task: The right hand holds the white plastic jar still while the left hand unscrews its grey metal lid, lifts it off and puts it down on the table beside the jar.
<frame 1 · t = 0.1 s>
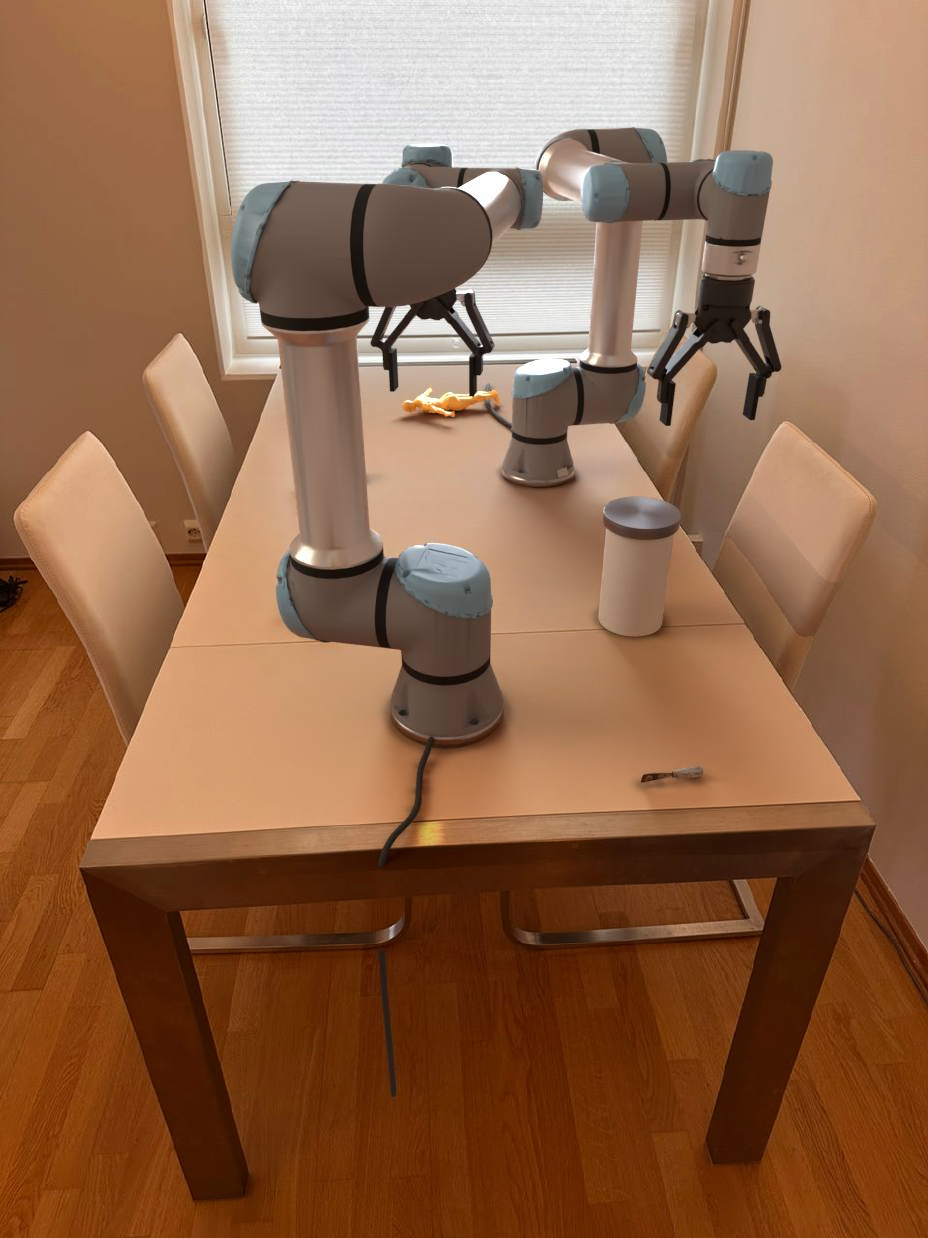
left hand: (433, 391, 149), 28 cm above the table, tool pointing down, fingers open, 13 cm apart
right hand: (707, 420, 137), 28 cm above the table, tool pointing down, fingers open, 13 cm apart
human figure: (450, 410, 226), on the table
putty knife: (671, 781, 109), on the table
lid: (641, 514, 131), point 18 cm above the table, screwed on, not yet turned
handgun: (339, 493, 183), on the table
jar: (630, 619, 141), on the table
stone: (329, 596, 147), on the table
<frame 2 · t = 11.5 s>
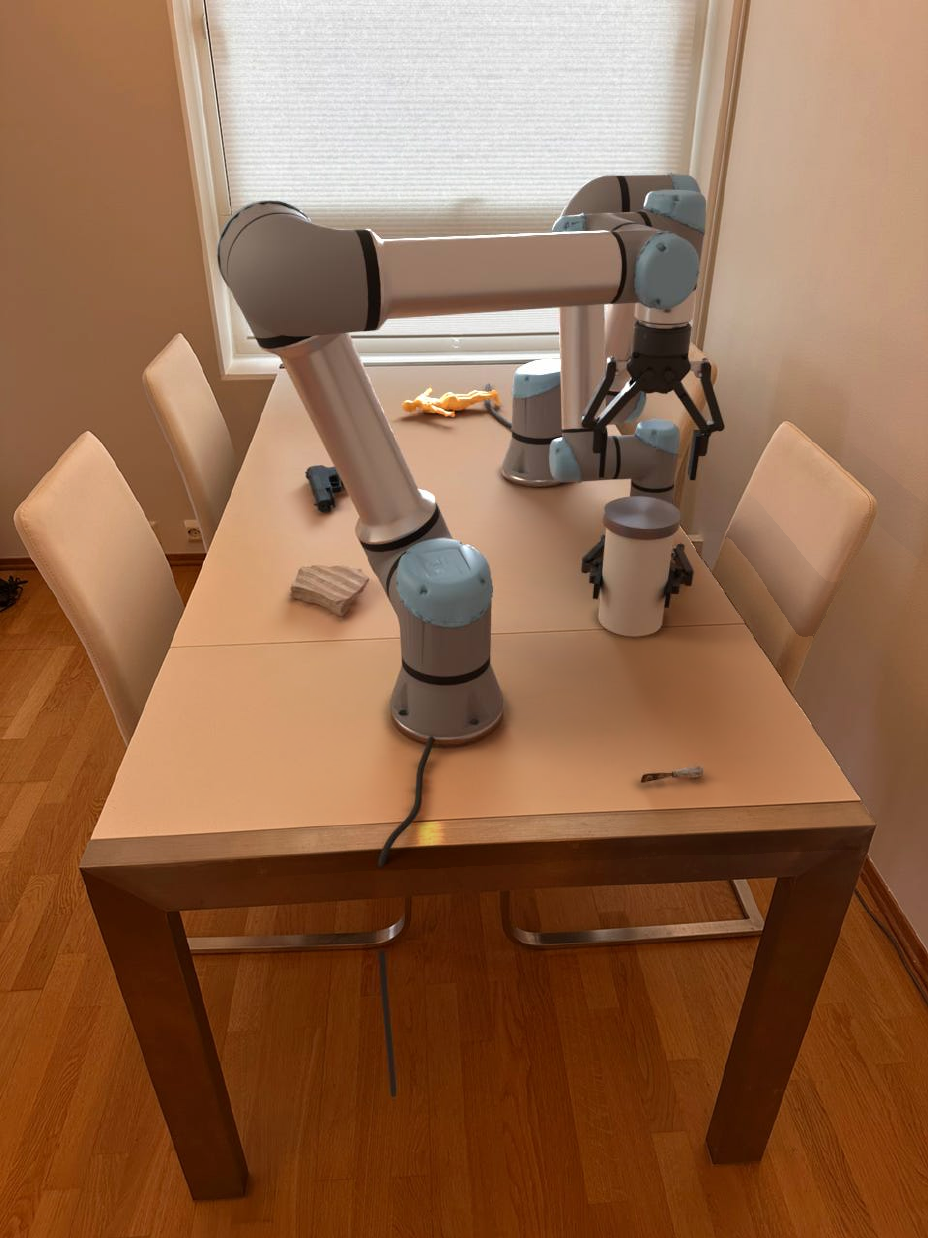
left hand: (646, 475, 128), 24 cm above the table, tool pointing down, fingers open, 12 cm apart
right hand: (631, 595, 134), 7 cm above the table, tool horizontal, fingers closed on jar, 10 cm apart
jar: (630, 619, 141), on the table, touching right hand
everything else where it was.
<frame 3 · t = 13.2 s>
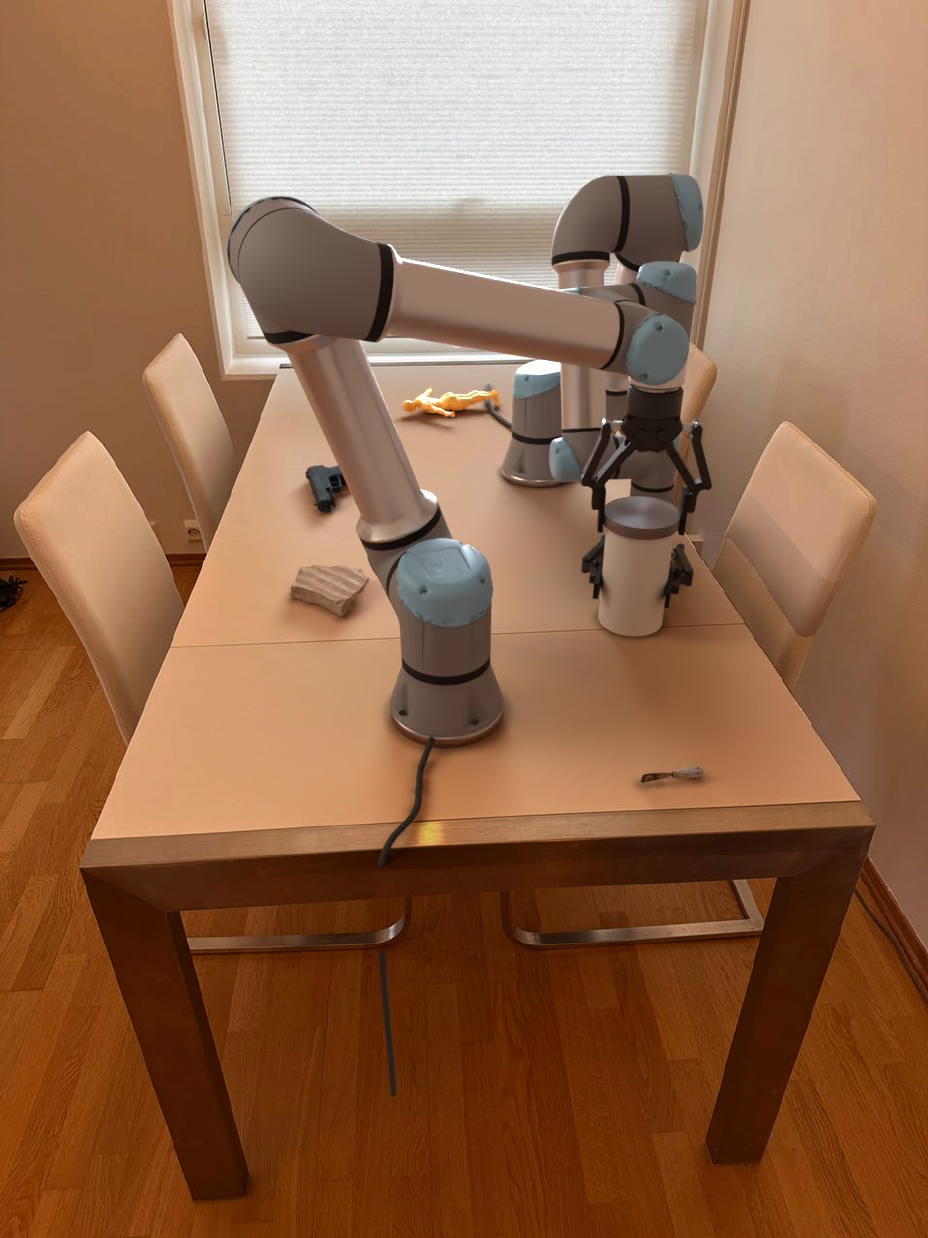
left hand: (639, 530, 133), 16 cm above the table, tool pointing down, fingers closed on lid, 11 cm apart
right hand: (631, 595, 134), 7 cm above the table, tool horizontal, fingers closed on jar, 10 cm apart
lid: (641, 514, 131), point 18 cm above the table, screwed on, not yet turned, touching left hand
jar: (630, 619, 141), on the table, touching right hand
everything else where it was.
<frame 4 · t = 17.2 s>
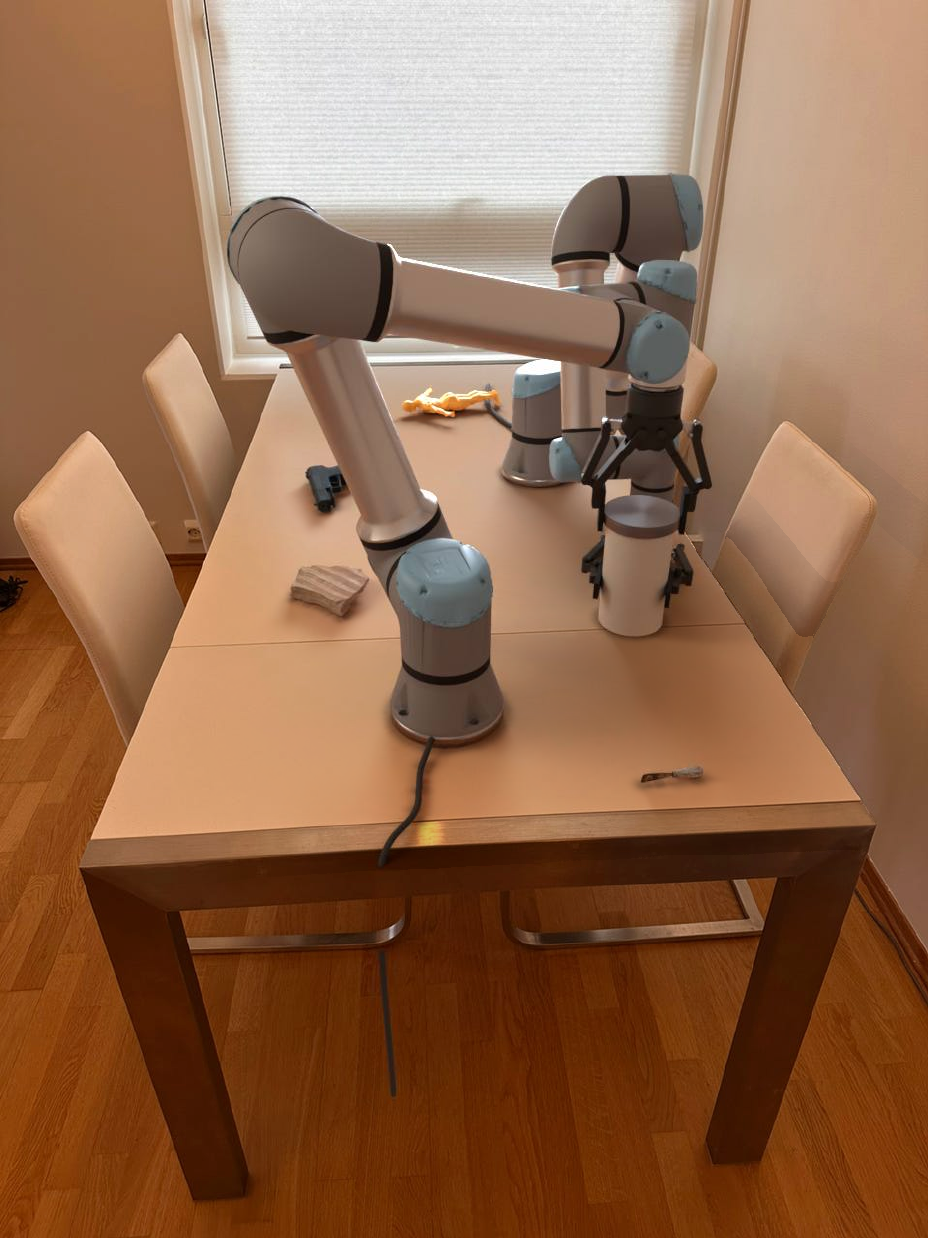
left hand: (640, 529, 132), 16 cm above the table, tool pointing down, fingers closed on lid, 11 cm apart
right hand: (631, 595, 134), 7 cm above the table, tool horizontal, fingers closed on jar, 10 cm apart
lid: (641, 512, 131), point 19 cm above the table, turned 149° so far, risen 0.2 cm, still on its thread, touching left hand
jar: (630, 619, 141), on the table, touching right hand
everything else where it was.
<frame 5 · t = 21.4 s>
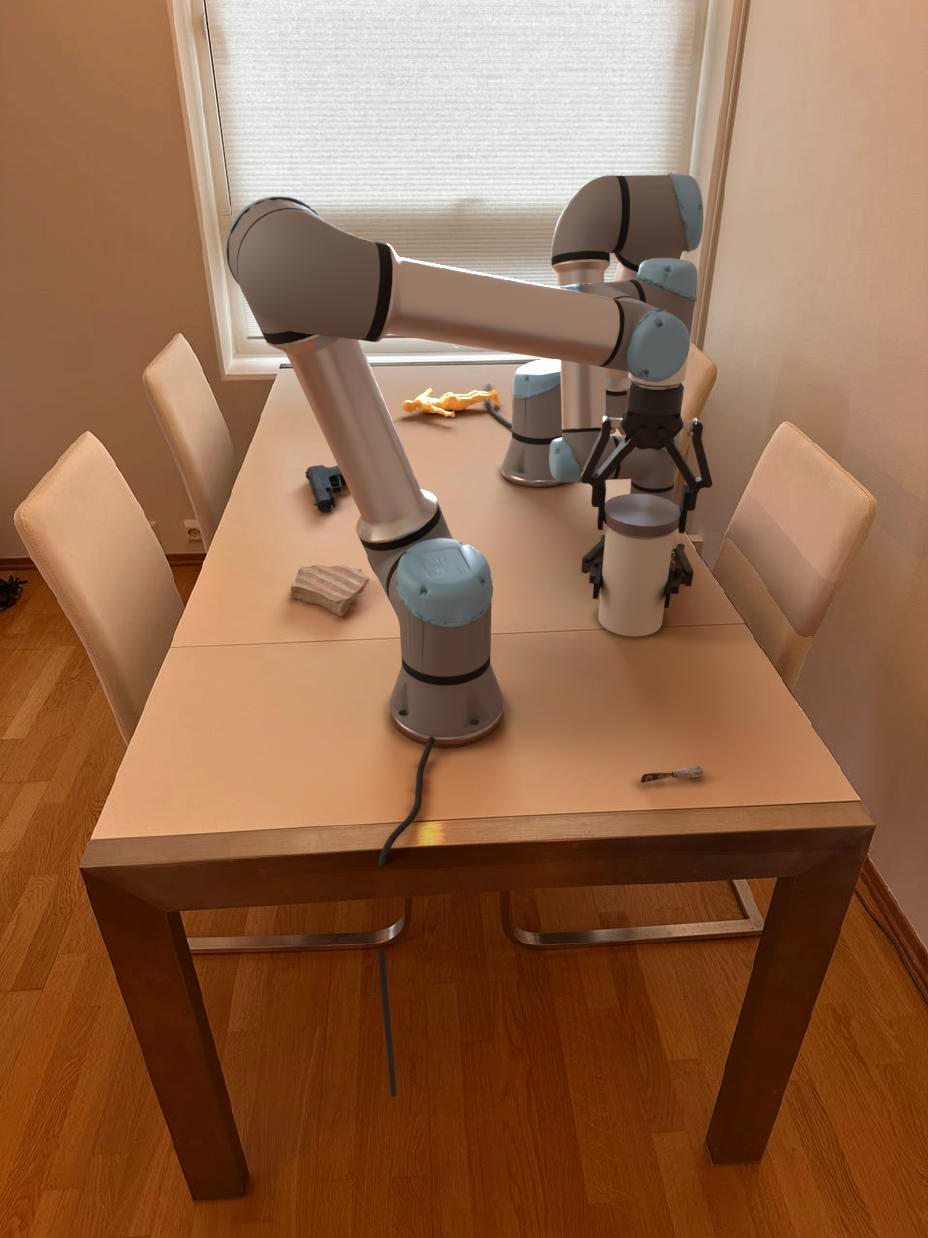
left hand: (640, 527, 132), 16 cm above the table, tool pointing down, fingers closed on lid, 11 cm apart
right hand: (631, 595, 134), 7 cm above the table, tool horizontal, fingers closed on jar, 10 cm apart
lid: (641, 511, 131), point 19 cm above the table, turned 298° so far, risen 0.4 cm, still on its thread, touching left hand
jar: (629, 619, 141), on the table, touching right hand
everything else where it was.
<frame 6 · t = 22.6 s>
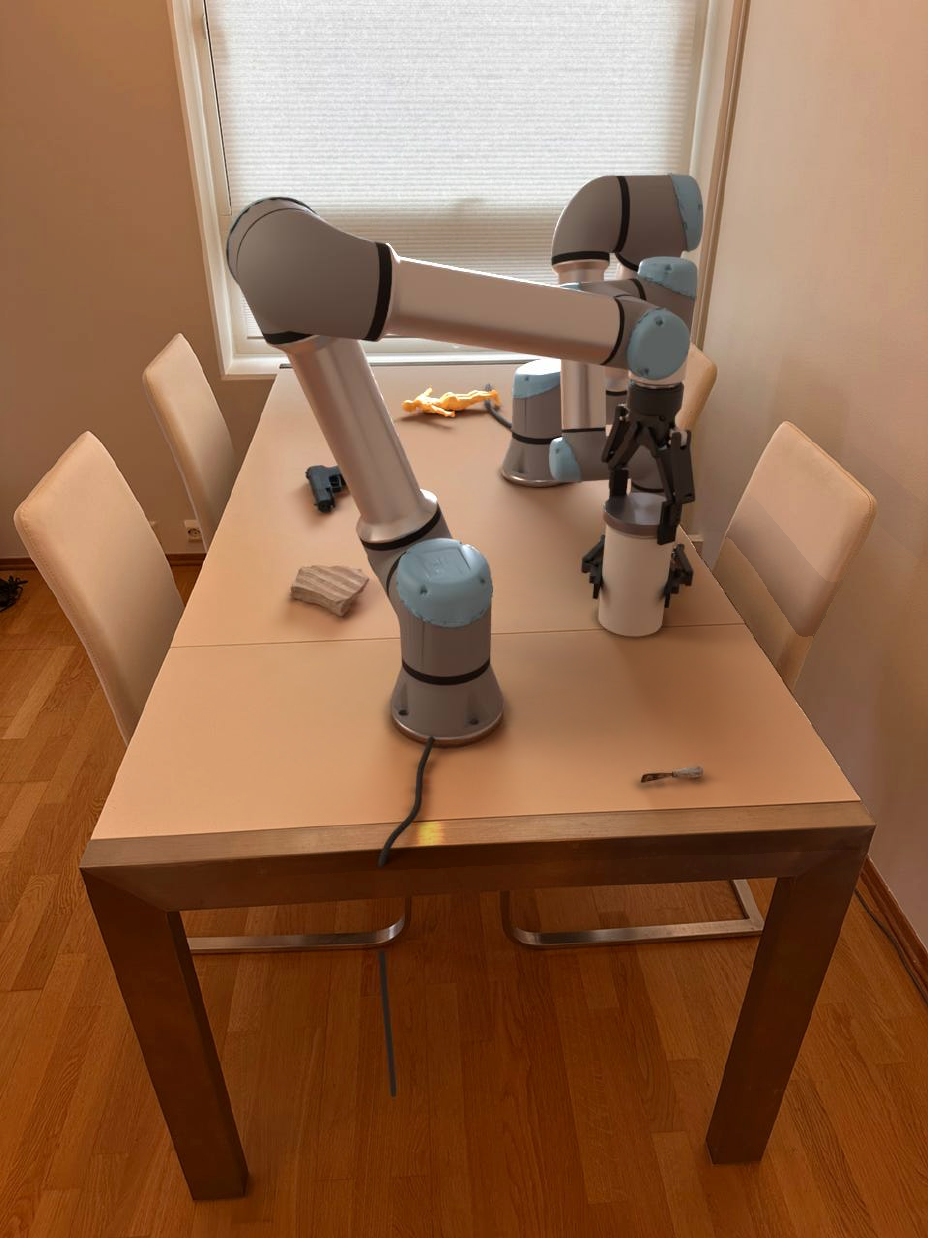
left hand: (640, 526, 132), 16 cm above the table, tool pointing down, fingers closed on lid, 11 cm apart
right hand: (631, 595, 134), 7 cm above the table, tool horizontal, fingers closed on jar, 10 cm apart
lid: (642, 510, 131), point 19 cm above the table, turned 422° so far, risen 0.6 cm, still on its thread, touching left hand
jar: (629, 619, 141), on the table, touching right hand
everything else where it was.
when the left hand's fingers open (0 cm above the table, at t = 29.1 s): lid drops 1 cm, point 1 cm above the table.
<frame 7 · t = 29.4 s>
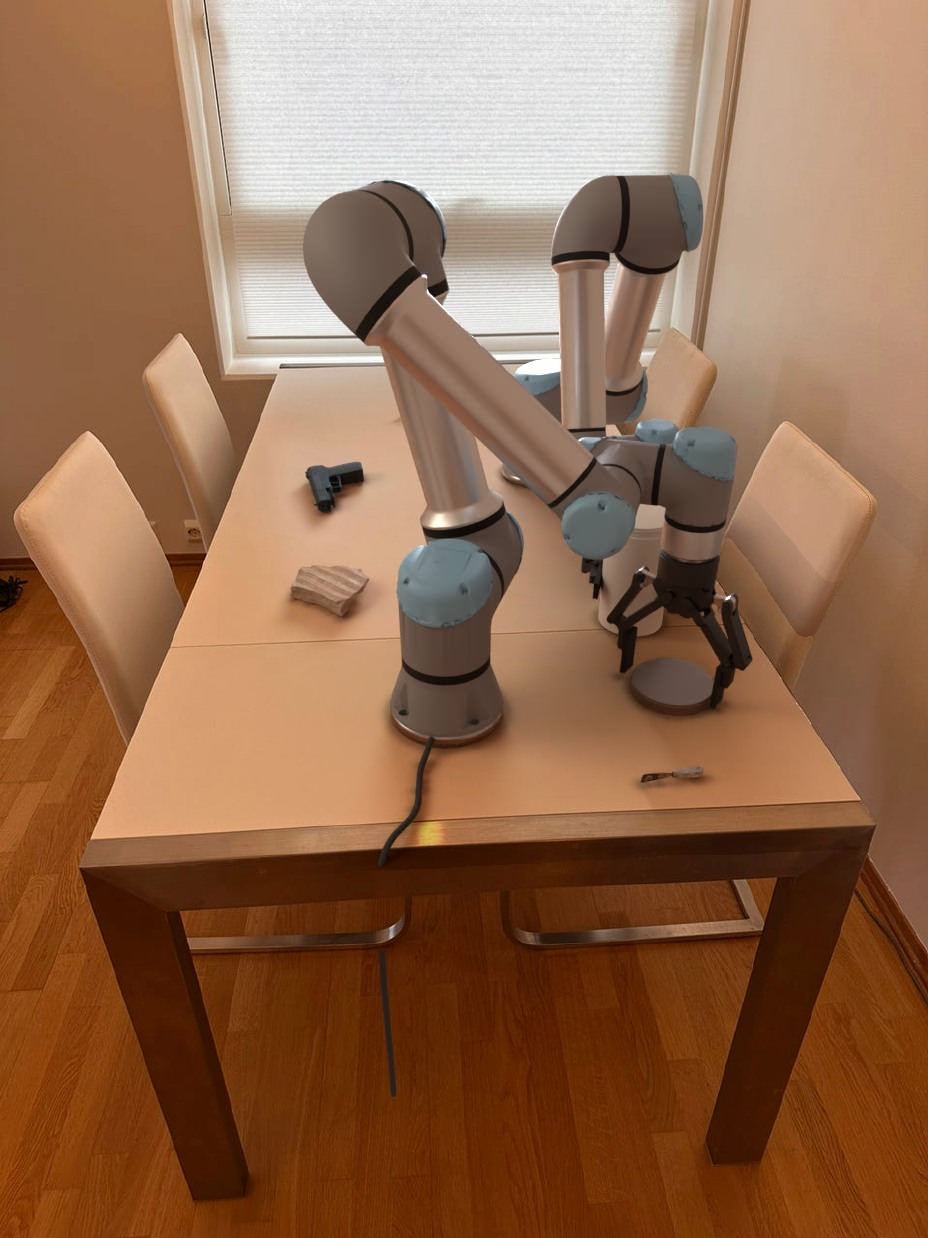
left hand: (669, 685, 125), 1 cm above the table, tool pointing down, fingers open, 13 cm apart
right hand: (631, 595, 134), 7 cm above the table, tool horizontal, fingers closed on jar, 10 cm apart
lid: (672, 682, 124), point 1 cm above the table, off its thread
jar: (629, 619, 141), on the table, touching right hand
everything else where it was.
when the right hand's fingers open (7 cm above the table, at t = 30.1 s): jar stays where it is, on the table.
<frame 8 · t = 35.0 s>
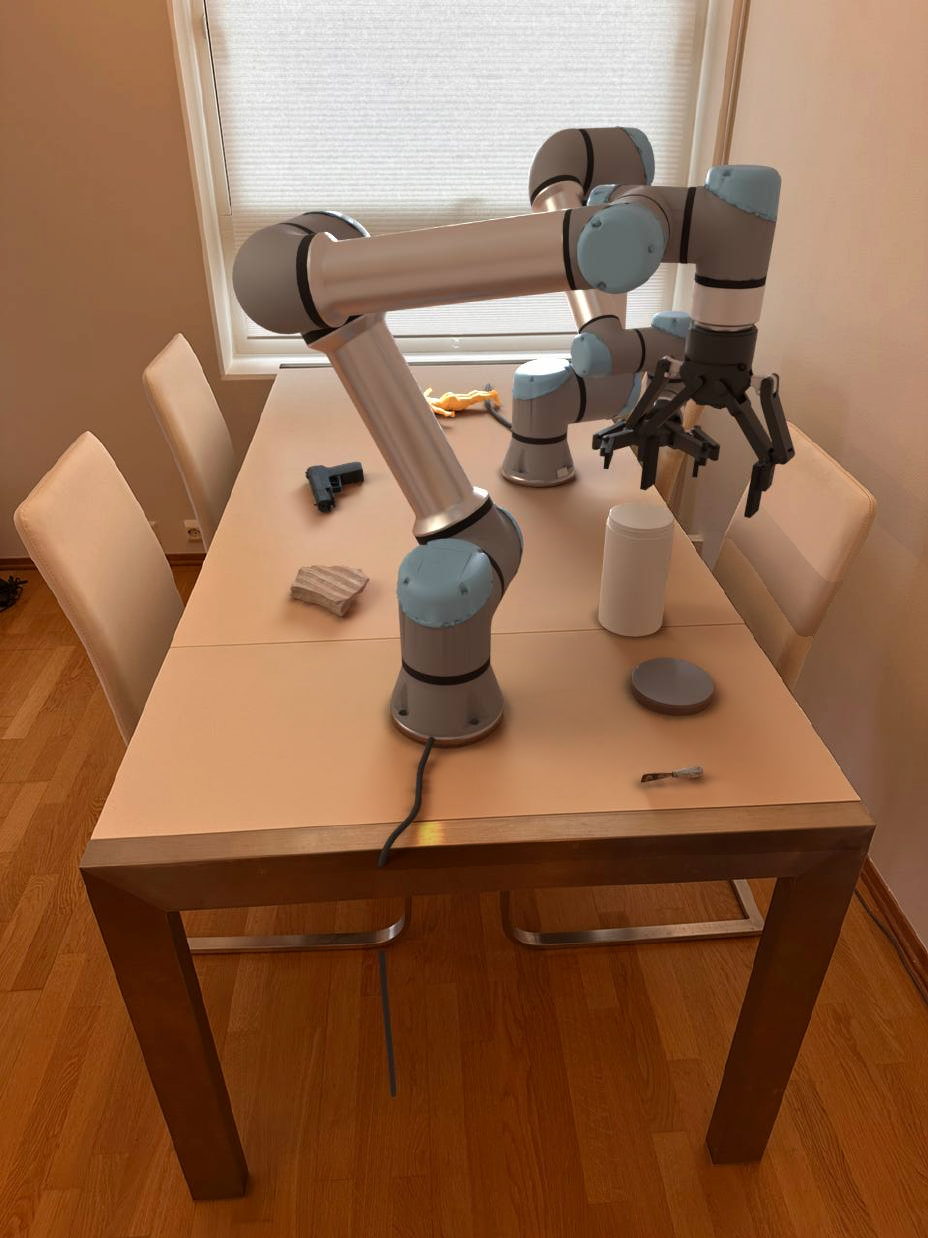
left hand: (697, 499, 110), 29 cm above the table, tool pointing down, fingers open, 13 cm apart
right hand: (650, 464, 138), 22 cm above the table, tool horizontal, fingers open, 13 cm apart
jar: (629, 619, 141), on the table
everything else where it was.
at the end: lid came off its thread; lid point 1.4 cm above the table; the left hand is holding nothing; the right hand is holding nothing; jar tilted 0°; jar moved 0.0 cm from its start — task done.
